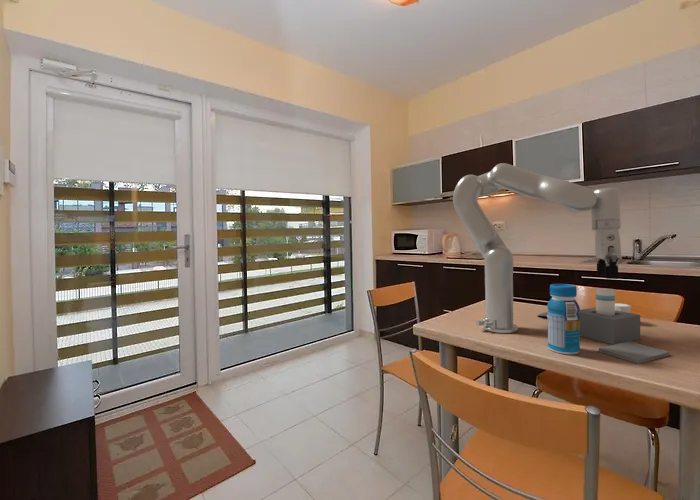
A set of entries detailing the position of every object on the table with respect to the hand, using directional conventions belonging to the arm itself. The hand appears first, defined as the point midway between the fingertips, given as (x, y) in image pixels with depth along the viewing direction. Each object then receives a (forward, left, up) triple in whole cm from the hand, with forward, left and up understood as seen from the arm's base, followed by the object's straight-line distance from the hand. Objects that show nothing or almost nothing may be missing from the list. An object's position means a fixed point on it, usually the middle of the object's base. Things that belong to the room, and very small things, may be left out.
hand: (607, 276), depth 107 cm
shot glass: (+21, +8, -21) cm, 30 cm away
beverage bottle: (-24, -3, -21) cm, 32 cm away
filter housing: (0, 0, -20) cm, 20 cm away
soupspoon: (+1, +19, -21) cm, 29 cm away
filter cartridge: (0, 0, -18) cm, 18 cm away
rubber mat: (-9, -13, -20) cm, 26 cm away
